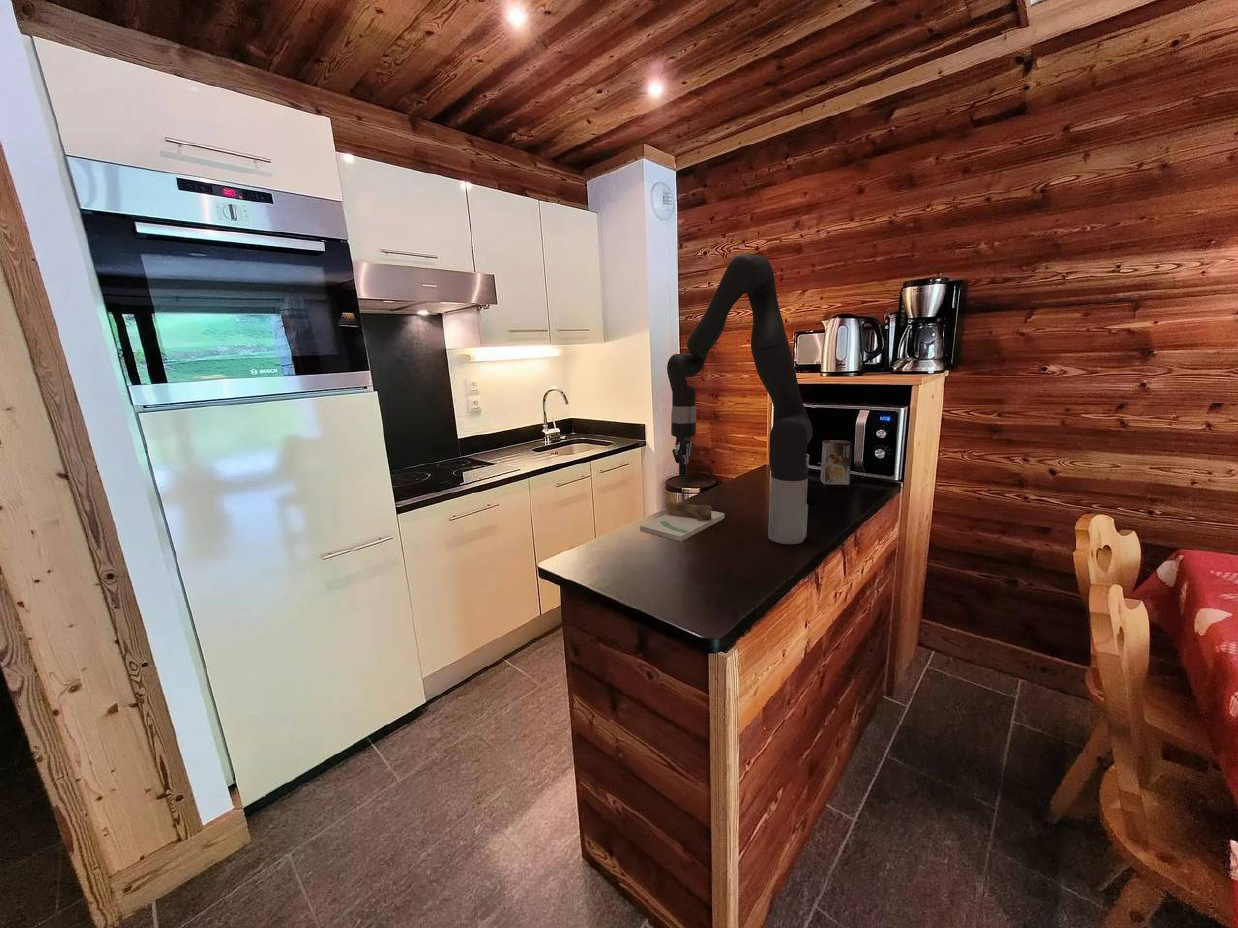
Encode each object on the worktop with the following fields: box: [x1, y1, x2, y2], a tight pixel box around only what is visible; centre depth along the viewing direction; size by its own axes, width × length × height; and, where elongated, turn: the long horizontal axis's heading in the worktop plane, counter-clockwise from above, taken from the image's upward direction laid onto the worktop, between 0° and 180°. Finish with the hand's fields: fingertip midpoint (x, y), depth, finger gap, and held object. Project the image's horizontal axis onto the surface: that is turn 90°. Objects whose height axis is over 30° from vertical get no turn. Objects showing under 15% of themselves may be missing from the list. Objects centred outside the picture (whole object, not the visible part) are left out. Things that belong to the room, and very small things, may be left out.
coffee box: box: [820, 439, 853, 486], centre depth 182 cm, size 9×6×16 cm
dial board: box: [639, 510, 725, 542], centre depth 143 cm, size 24×14×2 cm, turn 139°
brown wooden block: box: [666, 501, 713, 520], centre depth 144 cm, size 14×4×4 cm, turn 62°
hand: (683, 475), depth 150 cm, fingers closed
